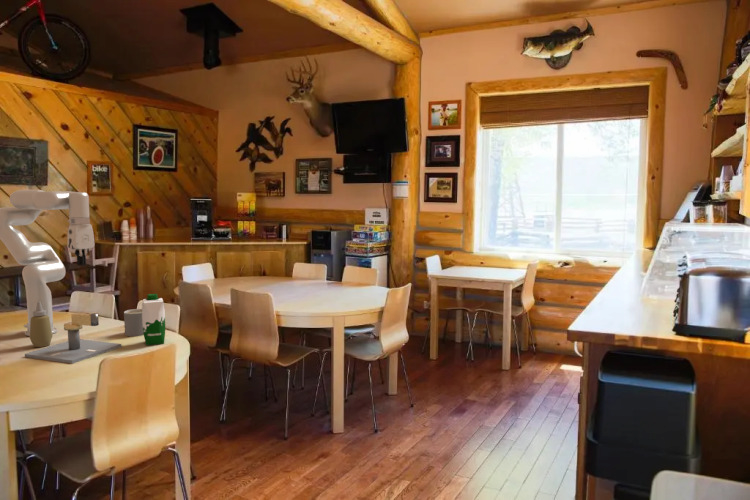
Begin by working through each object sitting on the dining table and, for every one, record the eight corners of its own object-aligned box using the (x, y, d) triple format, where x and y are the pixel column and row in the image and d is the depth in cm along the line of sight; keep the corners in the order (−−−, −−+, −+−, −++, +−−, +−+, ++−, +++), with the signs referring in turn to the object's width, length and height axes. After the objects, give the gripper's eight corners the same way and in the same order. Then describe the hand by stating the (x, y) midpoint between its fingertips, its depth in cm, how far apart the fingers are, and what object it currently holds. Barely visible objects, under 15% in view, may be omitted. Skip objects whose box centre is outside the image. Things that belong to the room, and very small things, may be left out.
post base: (24, 356, 222) (23, 333, 221) (76, 341, 245) (75, 320, 244) (72, 363, 214) (71, 339, 213) (121, 346, 236) (120, 325, 236)
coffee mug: (127, 337, 251) (126, 314, 250) (122, 332, 260) (121, 310, 259) (159, 333, 259) (158, 311, 258) (154, 328, 267) (153, 307, 266)
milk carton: (165, 338, 249) (163, 292, 247) (166, 344, 241) (164, 296, 238) (143, 341, 245) (140, 294, 243) (143, 346, 237) (141, 298, 235)
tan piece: (92, 332, 223) (91, 316, 222) (60, 330, 226) (59, 313, 225) (103, 328, 229) (103, 312, 228) (72, 326, 232) (71, 310, 232)
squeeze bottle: (57, 344, 241) (54, 301, 239) (40, 349, 233) (37, 305, 231) (42, 342, 243) (40, 299, 241) (25, 347, 236) (22, 303, 234)
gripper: (71, 223, 235) (73, 268, 237) (100, 221, 249) (102, 263, 251) (57, 222, 238) (59, 266, 240) (87, 220, 252) (89, 262, 254)
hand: (81, 265), depth 245 cm, fingers closed
